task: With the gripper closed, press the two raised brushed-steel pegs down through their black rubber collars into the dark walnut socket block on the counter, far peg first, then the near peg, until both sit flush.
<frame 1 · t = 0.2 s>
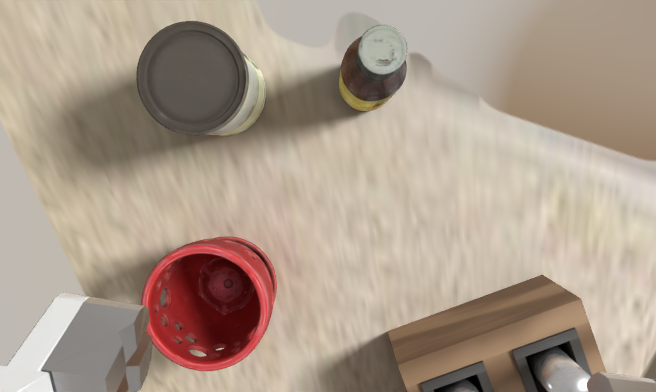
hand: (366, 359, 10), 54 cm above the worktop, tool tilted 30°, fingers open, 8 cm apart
sauce bottle: (365, 84, 63), on the worktop
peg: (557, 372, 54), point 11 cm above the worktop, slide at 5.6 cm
plant pot: (227, 279, 65), on the worktop
socket block: (480, 347, 65), on the worktop
coffee can: (224, 93, 63), on the worktop
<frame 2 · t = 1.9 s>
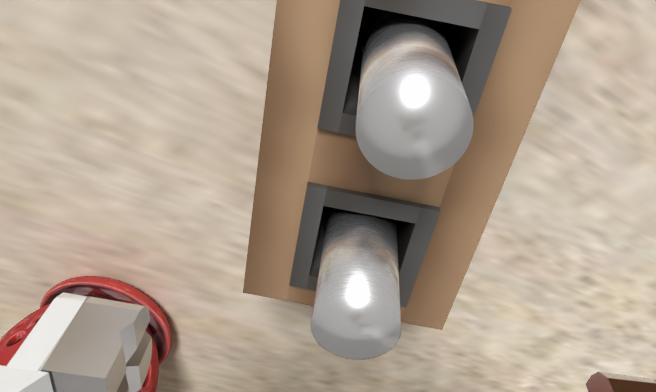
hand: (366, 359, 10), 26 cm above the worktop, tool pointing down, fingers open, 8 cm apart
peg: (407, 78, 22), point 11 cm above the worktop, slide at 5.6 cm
plant pot: (112, 315, 48), on the worktop
socket block: (381, 91, 34), on the worktop
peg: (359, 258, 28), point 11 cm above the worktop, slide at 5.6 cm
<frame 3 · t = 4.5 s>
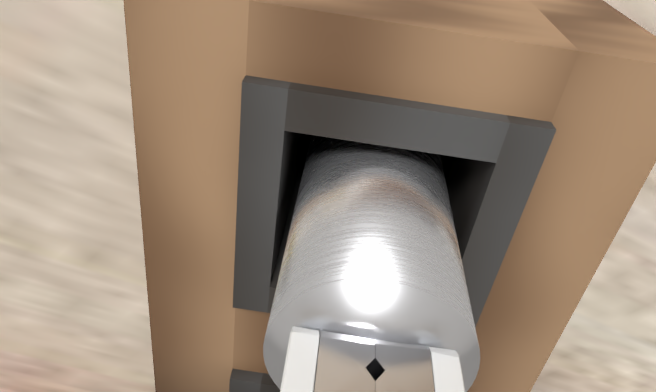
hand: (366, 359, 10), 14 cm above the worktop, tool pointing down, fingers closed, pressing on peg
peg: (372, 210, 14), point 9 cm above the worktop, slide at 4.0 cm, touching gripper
socket block: (355, 180, 25), on the worktop
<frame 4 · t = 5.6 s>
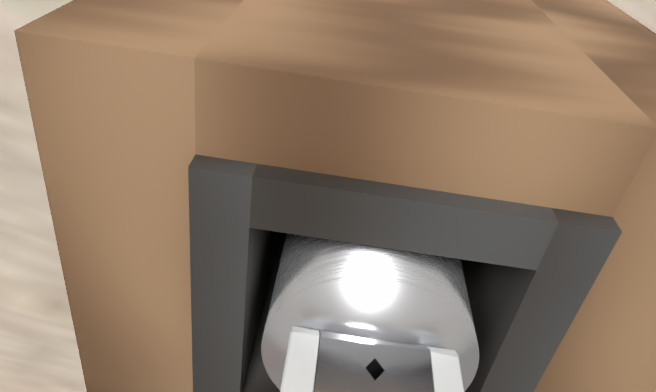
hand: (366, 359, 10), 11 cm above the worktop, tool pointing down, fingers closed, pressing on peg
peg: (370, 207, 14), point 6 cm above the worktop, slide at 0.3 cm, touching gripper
socket block: (350, 226, 22), on the worktop
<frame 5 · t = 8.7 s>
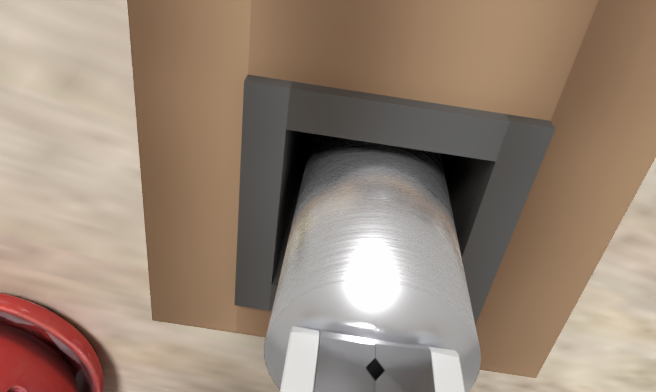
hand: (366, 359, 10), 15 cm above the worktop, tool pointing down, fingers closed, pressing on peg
plant pot: (20, 344, 34), on the worktop
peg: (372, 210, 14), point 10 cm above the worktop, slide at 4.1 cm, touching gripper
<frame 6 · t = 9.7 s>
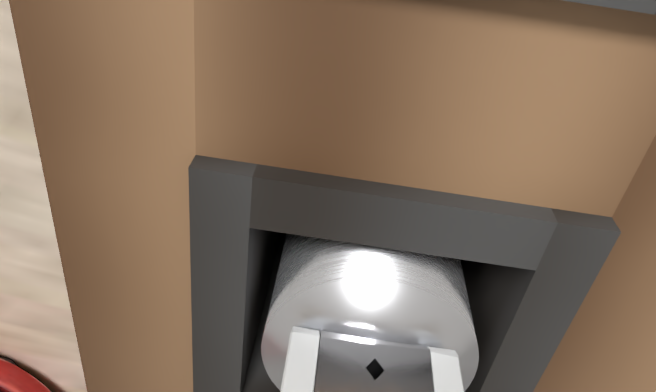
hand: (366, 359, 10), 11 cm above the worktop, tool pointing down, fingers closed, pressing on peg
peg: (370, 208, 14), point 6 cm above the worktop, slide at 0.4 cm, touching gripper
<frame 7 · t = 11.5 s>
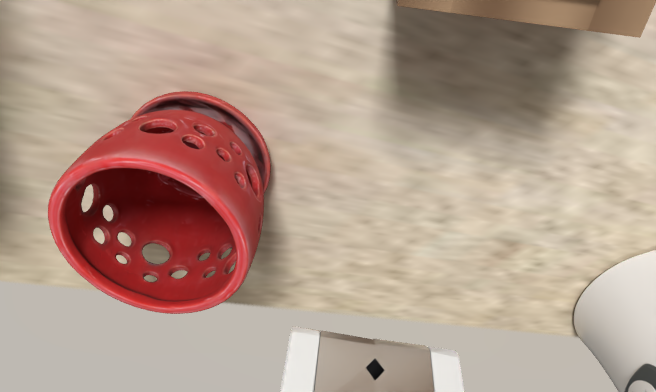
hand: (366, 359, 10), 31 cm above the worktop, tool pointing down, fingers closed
plant pot: (200, 152, 43), on the worktop
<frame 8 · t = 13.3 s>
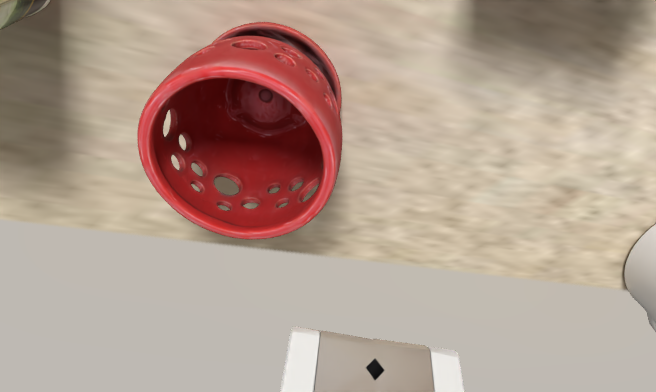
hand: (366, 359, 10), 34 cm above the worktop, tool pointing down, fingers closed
plant pot: (268, 90, 44), on the worktop
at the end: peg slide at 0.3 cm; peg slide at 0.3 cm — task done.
